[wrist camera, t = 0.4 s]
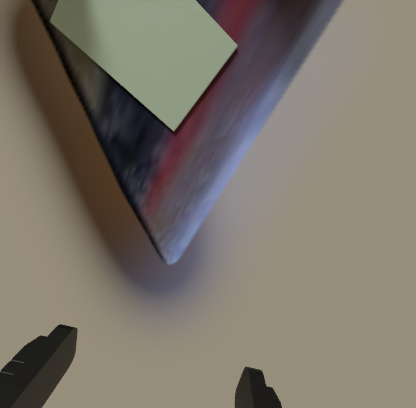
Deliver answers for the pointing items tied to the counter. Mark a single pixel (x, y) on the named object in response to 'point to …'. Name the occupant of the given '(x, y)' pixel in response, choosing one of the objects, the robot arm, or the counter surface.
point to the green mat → (150, 48)
